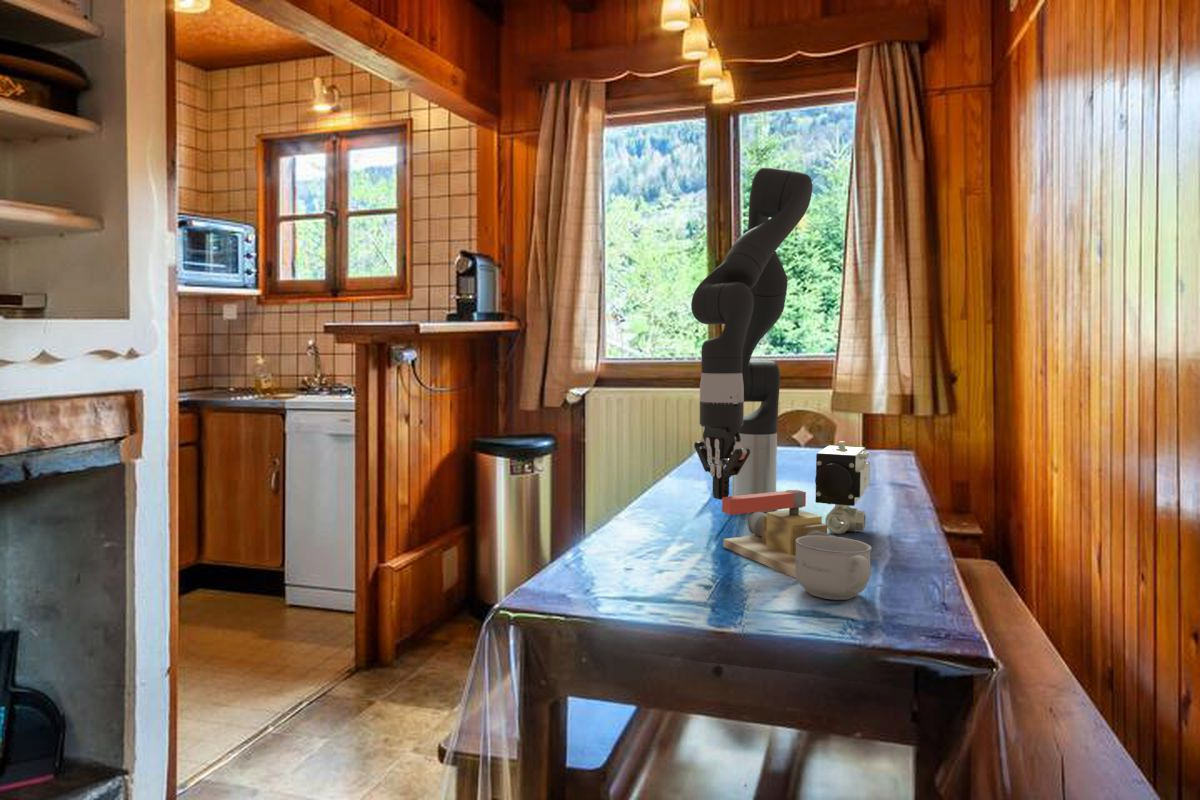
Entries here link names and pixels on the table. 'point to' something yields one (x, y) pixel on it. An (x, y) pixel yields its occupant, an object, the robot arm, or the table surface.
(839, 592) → the teacup
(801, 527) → the valve fixture
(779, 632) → the table surface
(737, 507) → the lever
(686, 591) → the table surface
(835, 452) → the ball valve
